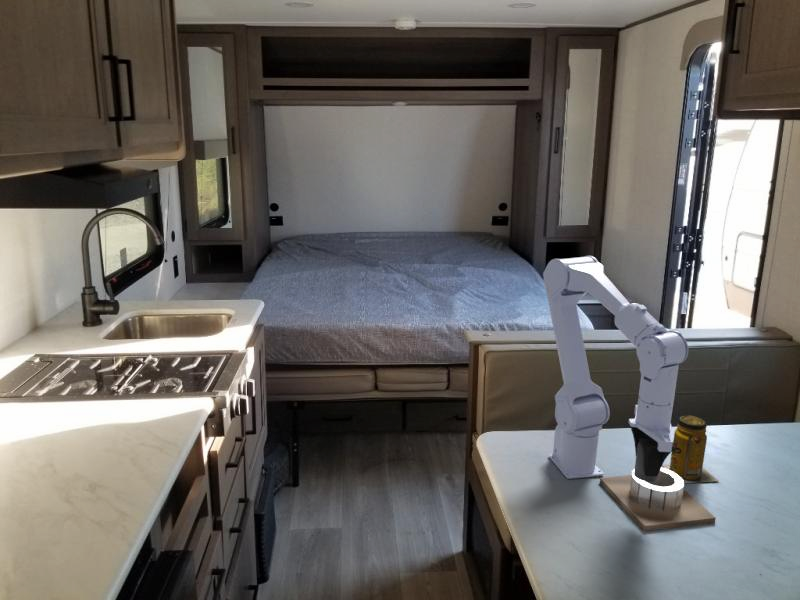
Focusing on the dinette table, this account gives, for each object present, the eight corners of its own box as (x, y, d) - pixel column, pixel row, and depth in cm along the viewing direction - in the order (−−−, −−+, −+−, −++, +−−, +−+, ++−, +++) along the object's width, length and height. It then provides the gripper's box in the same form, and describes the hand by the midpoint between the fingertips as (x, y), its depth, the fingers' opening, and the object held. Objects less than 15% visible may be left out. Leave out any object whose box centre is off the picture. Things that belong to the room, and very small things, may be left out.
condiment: (661, 465, 134) (668, 413, 131) (699, 464, 135) (707, 412, 131) (679, 484, 127) (686, 429, 124) (719, 482, 128) (728, 428, 124)
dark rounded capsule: (629, 474, 115) (633, 444, 114) (641, 467, 118) (645, 438, 116) (650, 484, 112) (654, 453, 111) (661, 476, 115) (665, 446, 113)
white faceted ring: (620, 486, 124) (623, 467, 123) (662, 482, 125) (665, 463, 124) (646, 513, 115) (649, 493, 114) (691, 508, 117) (694, 488, 116)
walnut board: (599, 482, 127) (600, 478, 127) (663, 476, 129) (663, 471, 129) (644, 530, 112) (644, 525, 111) (714, 522, 114) (715, 517, 114)
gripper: (621, 382, 118) (613, 447, 122) (645, 416, 104) (635, 489, 108) (660, 383, 118) (651, 449, 122) (689, 418, 104) (678, 491, 108)
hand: (646, 468), depth 115 cm, fingers closed on dark rounded capsule, 4 cm apart
